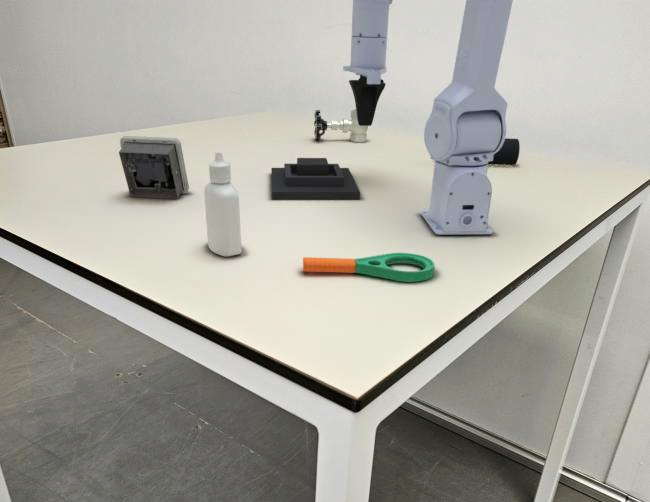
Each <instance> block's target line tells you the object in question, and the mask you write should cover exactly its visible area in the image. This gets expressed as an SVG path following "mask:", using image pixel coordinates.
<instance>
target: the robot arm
mask: <svg viewBox="0 0 650 502" xmlns="http://www.w3.org/2000/svg"><path fill="white" fill-rule="evenodd" d="M513 2H514V0H465V5H464V10H463V11H464V12H463V16H462V23H461V27H460V34H459V40H458V45H457V51H456V55H455V62H454V67H453V72H452V73H453V74H452V79H451V83H449V85H447V86H446V87H445V88H444V89H443V90H442V91H441V92H440V93H439V94H437V96H435V98H433V104H432V109H431V112H430V115H429V117H428V119H427V121H426V123H425V126H424V130H423V139H424V140H423V141H424V145H425V148H426V151H427V152H428V154H429V155H430V160H433V161H434V163H433V164H434V165H433V173H432V185H431V191H430V193H431V194H430V202H429V210H421V211H420V215H421V216H422V217H423V219H424V220H425V222H426V223H427V224H428V226H429V227H430V228H431V230H432V231H433V232H434V234H435V235H439V236H441V235H442V236H443V235H444V236H445V235H492V234H493V230H492V228H491V227H490V226H489V225H488V221H489V213H490V209H491V201H492V195H493V186H492V182H491V180H490V178H489V177H488V169H489V164H488V162H490V161H493V156H494V154H495V153H496V152H498V151H499V150H500V148H501V147H502V145H503V143H504V141H505V138H506V136H507V123H506V114H507V110H508V109H507V108H508V102H507V101H506V99H505V98H504V97H503V96H502V95H501V93H500V92H499V91H498V90H497V89H496V88H495V86H496V81H497V77H498V73H499V69H500V68H499V67H500V62H501V57H502V54H503V49H504V44H505V41H506V40H505V39H506V34H507V30H508V25H509V20H510V15H511V10H512V5H513ZM392 4H393V0H352V13H351V14H352V15H351V17H352V18H351V36H350V37H351V38H350V39H351V42H350V65H343V66H342V70H343V72H349V73H353V74H355V75H356V76H359V78H358V79H350V80H348V83H349V85H350V88H351V91H352V94H353V99H354V104H355V109H356V113H357V120H358V124H359V126H368V127H371V126H372V124H373V123H374V118H375V115H376V110H377V105H378V103H379V99H380V97H381V95H382V93H383V90H384V89H385V87H386V84H387V83H386V82H384V80H383V78H382V75H384V74H386V73H387V69H388V68H387V66H386V62H387V50H388V49H387V48H388V47H387V46H388V34H389V33H388V32H389V28H388V27H389V15H390V5H392Z"/></svg>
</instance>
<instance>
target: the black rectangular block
mask: <svg viewBox="0 0 650 502" xmlns="http://www.w3.org/2000/svg"><path fill="white" fill-rule="evenodd" d="M296 164H297V176H329V164H330V163H329V162H328V159H327V157H297V158H296Z"/></svg>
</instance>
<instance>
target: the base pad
mask: <svg viewBox="0 0 650 502" xmlns="http://www.w3.org/2000/svg"><path fill="white" fill-rule="evenodd" d="M328 164H329V176H297V163H284V164H283V166H284V167H271V200H360V199H361V191H360V188H359V187H358V185H357V183H356V181H355V178H354V176H353V174H352V173H351V170H350V169H349V167H340V165H339V163H328Z"/></svg>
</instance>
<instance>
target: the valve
mask: <svg viewBox="0 0 650 502" xmlns="http://www.w3.org/2000/svg"><path fill="white" fill-rule="evenodd" d="M313 126H314V131H313V133H314V141H318V142H319V141H321V138H322V136H323V135H325V133H326V131H328V129H330V130H331V131H338V129H339V131H341V132H342V133H345V134H347V133H348V132H350V133H349V141H350V142H353V143H364V142H366V141H367V137H368V133H367V131H368V129H369V126H359V124H358V120H357V113H356V108H355V109H352V110H351V111H350V119H348V118H342V121H339V122H338V121H337V120H332V121H331V122H328V121H327V120H324V118H322V115H321V109H316V110H315V112H314V121H313ZM321 131H322V132H321Z"/></svg>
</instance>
